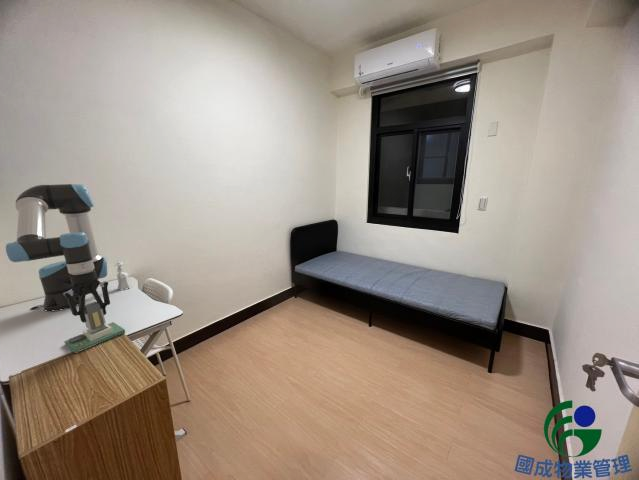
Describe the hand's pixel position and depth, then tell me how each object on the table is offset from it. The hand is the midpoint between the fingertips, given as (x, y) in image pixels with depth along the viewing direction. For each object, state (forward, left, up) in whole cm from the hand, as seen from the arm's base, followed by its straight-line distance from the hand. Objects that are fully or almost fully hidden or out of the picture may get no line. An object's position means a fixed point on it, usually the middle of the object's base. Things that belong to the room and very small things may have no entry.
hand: (96, 325), depth 102 cm
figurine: (-53, +29, -6) cm, 61 cm away
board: (0, -1, -6) cm, 6 cm away
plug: (0, 0, -1) cm, 1 cm away
